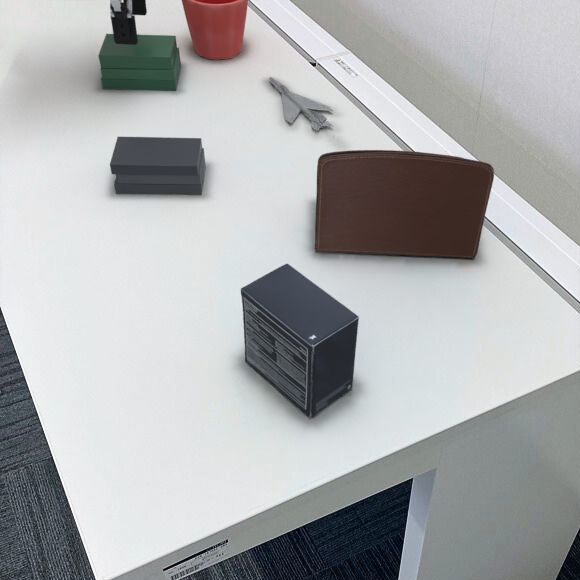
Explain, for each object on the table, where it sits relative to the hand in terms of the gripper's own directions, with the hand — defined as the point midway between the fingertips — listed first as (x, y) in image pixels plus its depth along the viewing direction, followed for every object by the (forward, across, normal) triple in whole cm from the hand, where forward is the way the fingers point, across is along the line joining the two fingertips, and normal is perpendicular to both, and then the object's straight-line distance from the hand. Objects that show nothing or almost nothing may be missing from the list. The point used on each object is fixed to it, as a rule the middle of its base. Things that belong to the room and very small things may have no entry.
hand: (131, 28), depth 114 cm
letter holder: (+8, +37, +37) cm, 52 cm away
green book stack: (+8, 0, +1) cm, 8 cm away
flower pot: (+8, -10, +12) cm, 17 cm away
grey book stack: (+8, +27, +7) cm, 29 cm away
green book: (+5, 0, +1) cm, 5 cm away
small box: (+8, +61, +25) cm, 66 cm away
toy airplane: (+8, +9, +26) cm, 28 cm away
